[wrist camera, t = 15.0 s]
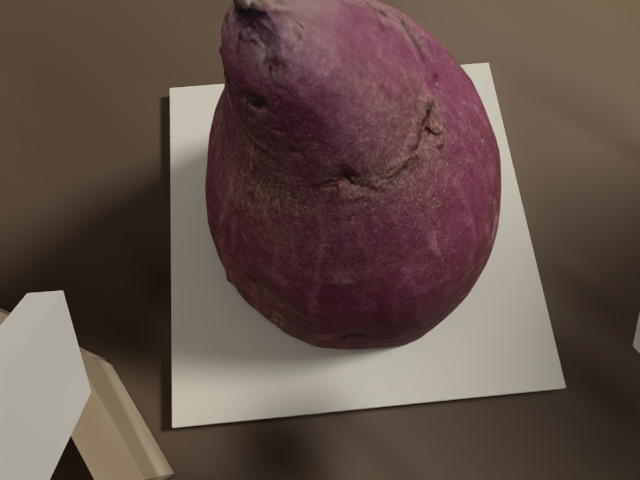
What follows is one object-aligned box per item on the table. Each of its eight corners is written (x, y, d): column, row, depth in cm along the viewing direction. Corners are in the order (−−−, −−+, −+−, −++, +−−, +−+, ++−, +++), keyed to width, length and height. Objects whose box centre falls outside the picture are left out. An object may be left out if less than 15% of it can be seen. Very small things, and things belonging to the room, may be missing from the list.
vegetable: (280, 384, 23) (20, 491, 9) (213, 157, 25) (-90, -67, 11) (531, 302, 22) (732, 266, 7) (438, 69, 24) (446, -333, 9)
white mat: (485, 69, 25) (488, 62, 25) (560, 389, 21) (565, 387, 20) (172, 94, 25) (169, 88, 24) (175, 427, 20) (172, 427, 20)
